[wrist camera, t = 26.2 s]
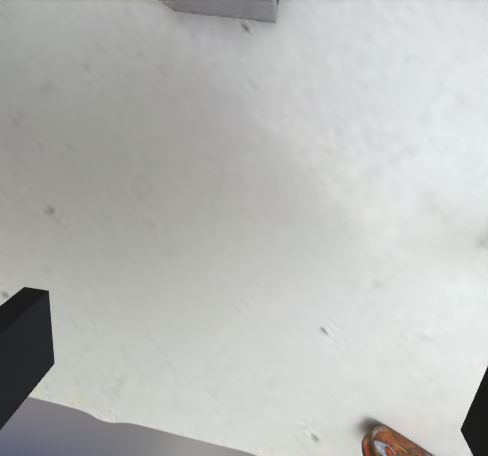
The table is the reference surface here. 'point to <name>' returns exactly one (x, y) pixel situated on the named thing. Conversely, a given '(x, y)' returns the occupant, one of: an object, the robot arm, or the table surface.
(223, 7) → the small wooden shelf
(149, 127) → the table surface
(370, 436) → the tin
